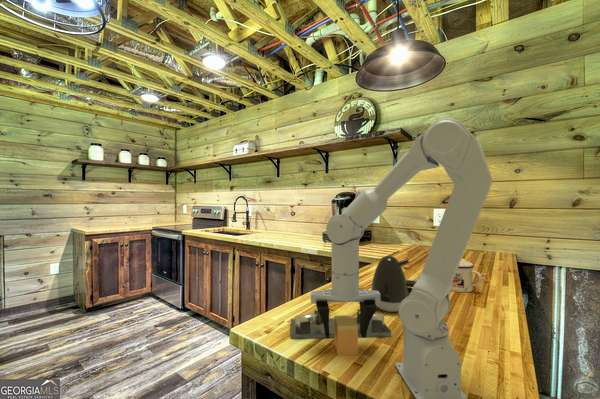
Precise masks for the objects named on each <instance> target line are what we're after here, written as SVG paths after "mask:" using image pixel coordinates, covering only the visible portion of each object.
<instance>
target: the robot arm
mask: <svg viewBox="0 0 600 399" xmlns="http://www.w3.org/2000/svg"><path fill="white" fill-rule="evenodd" d="M440 165H441V166H442V168H443V170H444V171H445V172H446V174H447V176H448V177H449V178H450V180H451V182H452V183H453V189H452V190H451V194H450V196H449V199H448V202H447V204H446V206H445V210H444V212H443V215H442V217H441V220H440V223H439V225H438V228H437V231H436V234H435V236H434V239H433V241H432V244H431V246H430V249H429V251H428V254H427V257H426V260H425V262H424V264H423V267H422V271H421V273H420V275H419V276H418V278H416V280H417V281H416V283H415V284H414V286H413V287H411V288H412V291H411V293H409V294H408V297H406V298H405V299H403V301H402V302H401V303H400V306H399V311H398V316H399V319H400V321H401V323H402V325H403V327H402V328H403V329H402V330H403V344H402V345H403V350H402V352H403V362H395V364H394V365H395V368H396V370H397V371H398V373H399V374H400V376H401V377H402V379H403V381H404V382H405V384H406V385H407V387H408V389H409V391H410V392H411V393H412V395H413V396H414V398H415V399H467V395H466V394H465V392H463V391H462V362H461V357H460V354H458V352H457V350H456V349H455V348H454V347H453V345H452V342H451V340H450V333H449V330H450V329H449V326H448V324H447V322H446V320H445V317H446V315H447V314H448V313H449V312H450V309H451V300H450V293H451V291H452V290H451V288H452V281H453V279H454V276H455V274H456V271H457V269H458V266H459V264H460V262H461V259H463V256H464V254H465V252H466V249H467V247H468V244H469V241H470V240H471V237H472V235H473V232H474V229H475V226H476V225H477V221H478V220H479V217H480V215H481V212H482V210H483V206H484V205H485V202H486V200H487V197H488V195H489V192H490V190H491V187H492V185H493V176H492V174H491V171H490V168H489V165H488V161H487V159H486V156H485V153H484V149H483V146H482V145H481V143H480V142H479V141H478V140H477V139H476V137H475V136H474V135H473V133H471V131H470V130H469V129H468V128H467V127H466V126H465V125H464V124H463V123H462V122H461V121H459V120H457V119H453V118H443V119H440V120H436V121H435V122H433V123H431V125H429V127H428V128H427V129H426V130H425V131H424V134H420V135H419V136H417V138H415V140H414V141H413V142H412V144H411V146H409V148H408V150H407V151H405V153H404V154H403V155H402V156H401V157H400V158H399V159H398V161H397V162H396V163H395V164H394V165H393V167H391V168H390V169H389V170H388V172H387V173H386V174H385V175H384V177H383V178H382V179H381V180H379V182H378V183H377V184H376V185H375V186H374V187H373V188H370V187H369V188H368V187H367V188H364V189H363V190H358V191H356V193H355V198H354V200H352V202H350V204H349V205H348V206H347V207H343V208H342V209H341V214H335V215H332V216H331V217H330V219H329V220H328V222H327V223H326V227H325V232H326V235H327V237H328V239H329V240H330V242H331V288H330V289H321V290H315V291H313V290H312V291H310V304H313V305H315V306H316V309H317V310H318V312H319V314H320V316H321V319H322V321H323V325H324V331H325V337H326V338H325V339H327V340H328V339H330V338H329V318H330V307H329V303H352V302H353V303H359V309H360V334H361V336H362V337H361V338H363V339H366V338H367V337H366V334H367V330H368V326H369V323H370V321H371V319H372V317H373V315H374V313H377V309H378V307H377V305H376V304H375V303H380V293H379V292H378V291H372V290H371V289H360V260H359V259H360V239H361V238H362V237H363V236H364V233H365V230H366V229H367V228H369V226H370V225H371V224H372V223H373V222H374V221H375V220H377V219H378V218H379V217H380V216H381V215H382V214H383V213H384V212H385V211H386V210H387V209H388V199H389V198H391V197H392V196H393V195H394V194H395V193H396V192H398V191H399V190H400V189H401V188H402V187H404V185H406V184H407V183H408V182H410V180H411V179H413V178H414V177H415V176H416V175H418V173H420V172H421V171H422V172H423V171H427V170H432V169H436V168H440V167H441V166H440Z"/></svg>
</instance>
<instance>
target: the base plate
mask: <svg viewBox="0 0 600 399" xmlns="http://www.w3.org/2000/svg"><path fill="white" fill-rule="evenodd" d="M353 318H354V320H355V322H356V323H357V317H353ZM357 325H358V338H362V336H361V334H360V324H357ZM385 337H386V338H387V337H392V331H391V330H390V328H389V327H388V326H387V324H386V323H385V322H384V325H383V333H376V332H372V324H370V323H369V326H368V330H367V334H366V338H385ZM290 339H291V340H294V339H295V340H297V339H298V340H299V339H300V340H302V339H326V337H325V331H324V325H323V324H321V325H316V324H311V325H310V333H309V334H304V335H300V334H299V333H298V331H297V330H296V323H295V318H291V319H290ZM328 339H334V317H331V318H330V317H329V338H328Z"/></svg>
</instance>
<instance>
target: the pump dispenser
mask: <svg viewBox="0 0 600 399" xmlns="http://www.w3.org/2000/svg"><path fill="white" fill-rule="evenodd" d="M409 263H410V262H409V259H408V258H406V259H403V260H402V259H401V260H398V258H396V257H394V256H392V255H385V256H382V258H380V260H379V262H378V263H377V265H376V268H375V271H374V273H373V277H372V280H371V281H372V282H371V287H370V288H371V289H370V290H372V291H378V292H379V293H380V303H375V304H376V305H377V309H378V308H379V309H380V310H382V311H383V312H388V313H396V312H399V306H400V303H401V302H402V301H403V299H405V298H406V297H408V296H409V293H408V288H407V282H406V280H407V278H406V275H405V272H404V269H403V267H402V266H404V265H406V264H409Z"/></svg>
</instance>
